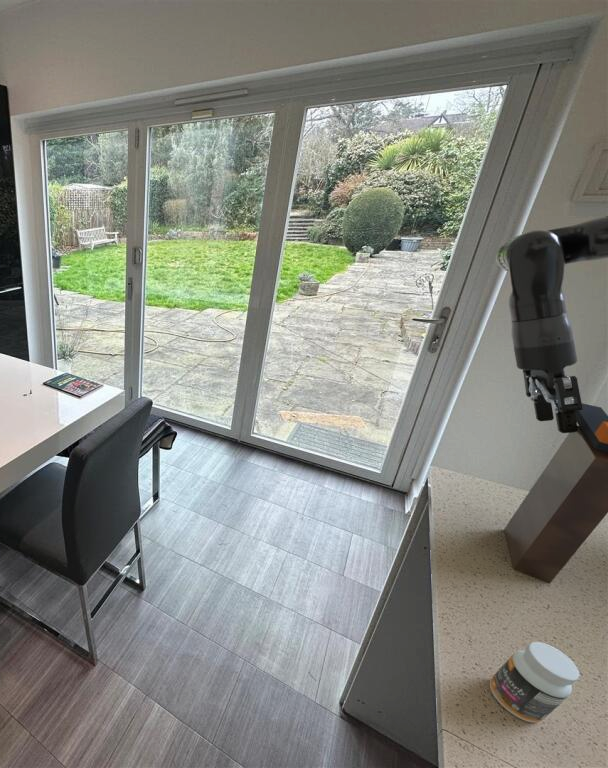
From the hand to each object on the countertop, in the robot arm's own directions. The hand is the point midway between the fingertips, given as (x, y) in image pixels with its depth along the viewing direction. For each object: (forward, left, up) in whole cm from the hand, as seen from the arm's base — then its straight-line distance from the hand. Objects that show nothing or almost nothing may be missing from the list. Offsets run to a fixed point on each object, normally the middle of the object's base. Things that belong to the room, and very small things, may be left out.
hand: (556, 426), depth 76 cm
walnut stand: (-4, +8, -24) cm, 26 cm away
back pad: (-4, +3, +2) cm, 5 cm away
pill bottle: (+2, +43, -24) cm, 50 cm away
